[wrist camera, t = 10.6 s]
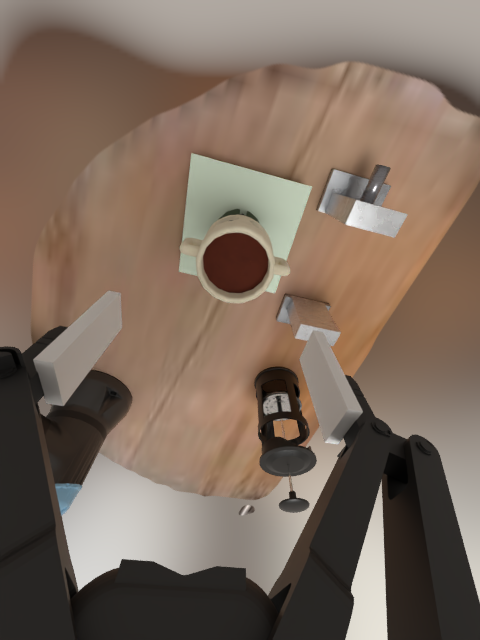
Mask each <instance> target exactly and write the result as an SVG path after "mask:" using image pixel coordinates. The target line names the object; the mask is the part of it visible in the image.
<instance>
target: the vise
mask: <svg viewBox="0 0 480 640" xmlns="http://www.w3.org/2000/svg"><path fill="white" fill-rule="evenodd" d="M390 169H391V168H389V167H387V166H383V165H376V166H375V168H374V170H373V172H372V175H371V177H370V179H366V178H362V177H359V176H355V175H352V174H348V173H345V172H342V171H338V170H335V169H332V170H331V172H330V175H329V178H328V180H327V183H326V186H325V188H324V191H323V194H322V196H321V199H320V202H319V204H318V207H317V210H318V211H320V212H324V213H326V214H328V215H330V216H332V217H333V218H335V219H337V220H339V221H340V222H342V223H344V224H345V225H349V226H353V227H357V228H360V229H364V230H368V231H372V232H375V233H379V234H383V235H387V236H390V237H394V238H395V236H396V234H397V233H398V231H399V229H400V227H401V225H402V224H403V222H404V220H405V218H406V217H407V215H408V214H405V213H401V212H398V211H395V210H391V209H388V208H384V207H381V205H382V203H383V201H384V199H385V197H386V195H387V193H388V191H389V189H390V187H391V186H390V185H386V184H383V183H384V181H385V179H386V177H387V175H388V173H389V171H390ZM330 307H331V306H330V305H329V304H328V303H324V302H319V301H315V300H310V299H306V298H301V297H297V296H293V295H288V294H285V295H284V298H283V301H282V303H281V306H280V309H279V311H278V314H277V317H276V320H277V321H279V322H283V323H288V324H291V327H292V330H293V334H294V337H295V338H297V339H302V340H307V341H308V340H309V338H310V335H311V333H312V331H313V330H314V331H320V332H323V333H324V335H325V337H326V339H327V341H328V343H329V345H331V346H334V344H335V342H336V341H337V339H338V337H339V335H340V334H341V332H340V330H339V328H338V326H337V325H336V323H335V321H334V320H333V318H332V316H331V314H330V313H329V309H330Z"/></svg>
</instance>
